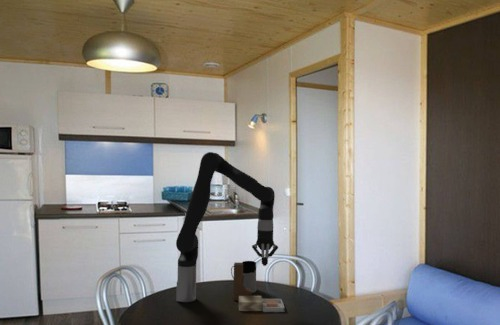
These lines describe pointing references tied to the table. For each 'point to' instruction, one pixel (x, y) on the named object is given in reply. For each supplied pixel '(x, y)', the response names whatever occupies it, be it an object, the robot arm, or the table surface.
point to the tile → (271, 304)
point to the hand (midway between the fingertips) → (264, 265)
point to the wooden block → (239, 283)
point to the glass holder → (249, 275)
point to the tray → (273, 309)
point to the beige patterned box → (250, 303)
